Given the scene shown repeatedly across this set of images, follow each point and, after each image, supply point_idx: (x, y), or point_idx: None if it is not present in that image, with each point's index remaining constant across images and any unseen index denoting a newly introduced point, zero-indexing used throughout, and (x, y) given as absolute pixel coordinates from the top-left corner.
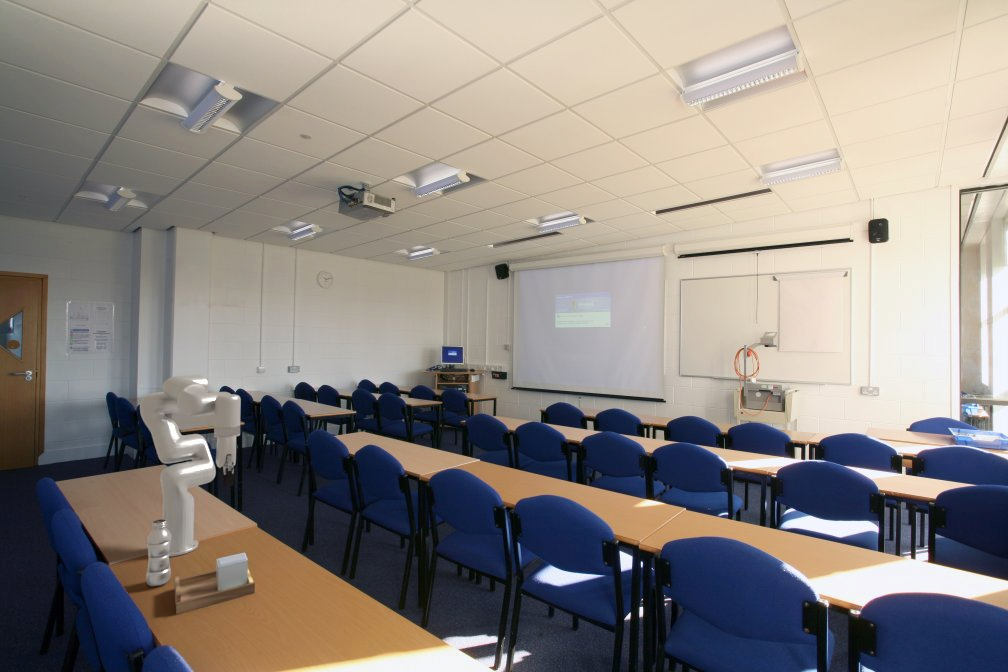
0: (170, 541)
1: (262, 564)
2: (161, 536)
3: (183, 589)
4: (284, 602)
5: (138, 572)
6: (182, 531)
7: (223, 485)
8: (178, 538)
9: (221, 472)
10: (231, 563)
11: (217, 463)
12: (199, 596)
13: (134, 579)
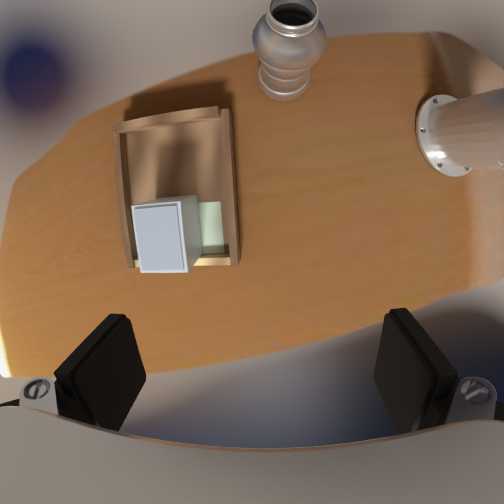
0: (285, 72)
1: (259, 293)
2: (257, 37)
3: (203, 130)
4: (91, 298)
5: (366, 53)
6: (454, 135)
7: (110, 321)
8: (443, 127)
9: (406, 358)
10: (136, 235)
11: (102, 475)
12: (121, 165)
13: (333, 45)
